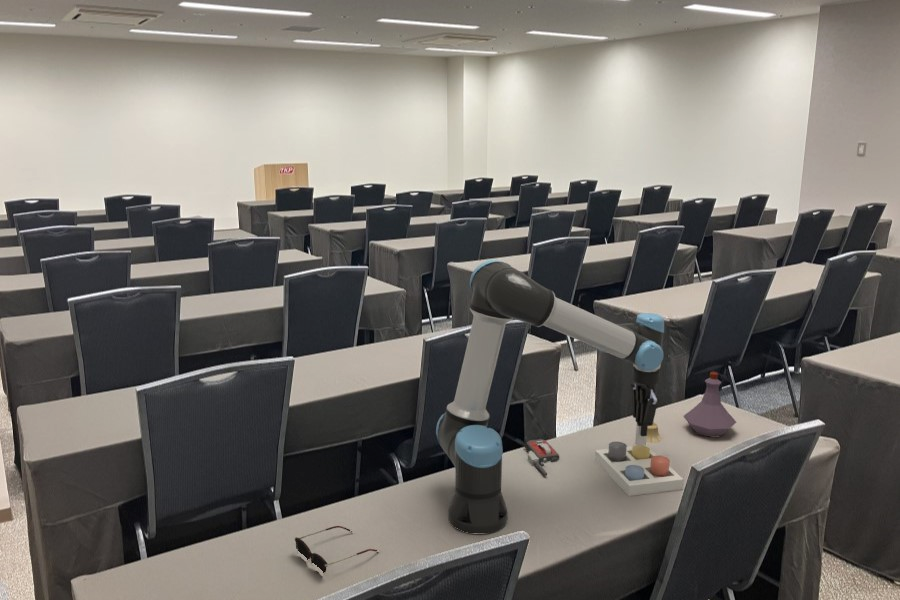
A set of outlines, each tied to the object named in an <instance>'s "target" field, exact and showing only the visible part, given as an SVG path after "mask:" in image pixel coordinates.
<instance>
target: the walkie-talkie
mask: <svg viewBox="0 0 900 600" xmlns="http://www.w3.org/2000/svg"><path fill="white" fill-rule="evenodd" d="M523 447H524V448H525V450H526V452H527V453H528V454H527V460H528V462H529V463H530V464H531V466H532V467H534V466H535V467H536V468H537V469H538V470H539V471H540V472H541V473H542V474H543V475H544V476H548V473H547V471H546V469H544V468H543V467H542V466H544V465H545V464H544V463H547V462H551V463H555V462H558V461H559V460H560V454H559V452H557V451H556V450H555V449H554V448H553V447H552V446H551V445H550V444H549V443H548V441H547V440H545V439H542V438H539V439H531V440H528V441H527V442H526V443H524V444H523Z"/></svg>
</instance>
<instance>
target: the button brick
mask: <svg viewBox="0 0 900 600" xmlns="http://www.w3.org/2000/svg"><path fill="white" fill-rule="evenodd" d="M670 463H671V462H670V458H668V457H667V456H664V455H657V454H656V456H652V457H651V465H650V473H651V474H652V475H654V476H657V477H666V476H668V474H669V467H670Z"/></svg>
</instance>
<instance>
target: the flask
mask: <svg viewBox="0 0 900 600" xmlns="http://www.w3.org/2000/svg"><path fill="white" fill-rule="evenodd" d="M718 376H719V373H718V372H716V371H710V372H709V378H706V379H705V380H704V382H705V384H706V385H705V386H706V388H705V392H704V394H703V397H702V399H701V401H700V402H698V403H697V405H695V406H694V407H693V408H692V409H690V410H689V411H688V412H686V413H685V414H684V415H683V419H685V421H686V422H687V423H688V425H689V426H690V427H691V428H692V430H693V429H694V430H695V431H696V432H697V433H698V434H697V433H696V432H695V431H694V430H693V431H694V432H695V433H696V434H697V435H699V434H701V435H700V436H703V435H705V436H704V437H706V436H720V437H721V436H723V435H724V434H725V433H726V432H728V430H730V428H732V427H733V426H734V425H735V424H736V423H737V420H736V419H735V418H734V417H733V416H732V415H731V414H730V413H729V412H728V410H727V409H726V408H725V406H724V405H723V403H722V401H721V396H720V385H721V384H722V381H721V380H719V379H718Z"/></svg>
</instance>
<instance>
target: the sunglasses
mask: <svg viewBox="0 0 900 600" xmlns="http://www.w3.org/2000/svg"><path fill="white" fill-rule="evenodd" d="M338 528H340V529H344V530H345V531H349V532H350V530H351V529H349V528H347V527H344V526H343V525H335V526H331V527H327V528H325V529H324V528H323V529H322V530H319V531H316V532H313V533H309V534H305V535H302V536H299V537H294V541H295V548H296V550H297V552H298V551H299V552H300V553H301V554H303V555H304V556H305V557H306V558H307V560H308V559H310V561H311V564H312V563H314V564H315V565H317V567H319V568H320V569H321V570H322V571H323V573H324V574H325V573H326V572H327V567H328V566H330V565H333V564H335V563H338V562H341V561H345V560H347V559H351V558H352V557H355V556H358V555H362V554H364V553H366V552H369V551H370V552H376V551H377V550H378V549H373V548H368V549H365V550H362V551H359V552H357V553H354V554H352V555H349V556H345V557H344V558H340V559H338V560H335V561H330V562H327V561H326V560H325V559H324V558H323V556H321V555H320V554H318V553H316V552H313V553H312V551H311V549H310V548H309V546H308V545H307V543H306V542H305V541H304V540H303V539H304V538H306V537H310V536H313V535H316V534H319V533H322V532H326V531H330V530H332V529H338Z"/></svg>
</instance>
